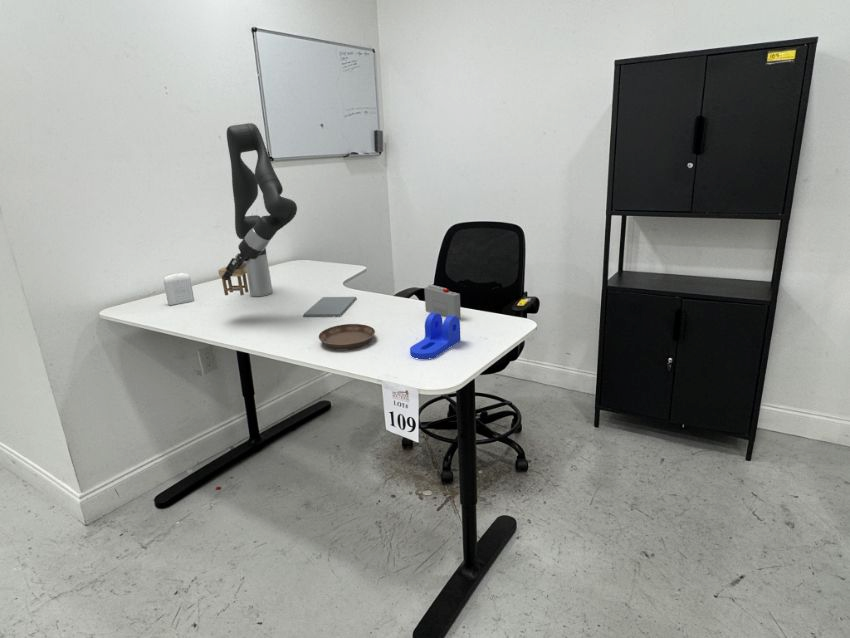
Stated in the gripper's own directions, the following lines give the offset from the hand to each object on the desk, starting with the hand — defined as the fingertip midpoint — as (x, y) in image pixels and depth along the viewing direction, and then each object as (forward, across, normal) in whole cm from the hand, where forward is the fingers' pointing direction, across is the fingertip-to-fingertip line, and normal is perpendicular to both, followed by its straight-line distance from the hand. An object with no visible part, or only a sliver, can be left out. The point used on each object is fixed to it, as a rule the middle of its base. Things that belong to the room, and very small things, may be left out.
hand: (229, 276), depth 188 cm
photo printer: (+38, -22, -14) cm, 45 cm away
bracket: (-43, +27, +66) cm, 83 cm away
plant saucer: (-23, +21, +46) cm, 56 cm away
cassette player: (-42, -4, +66) cm, 78 cm away
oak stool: (+3, 0, +6) cm, 7 cm away
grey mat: (-11, -14, +34) cm, 38 cm away
